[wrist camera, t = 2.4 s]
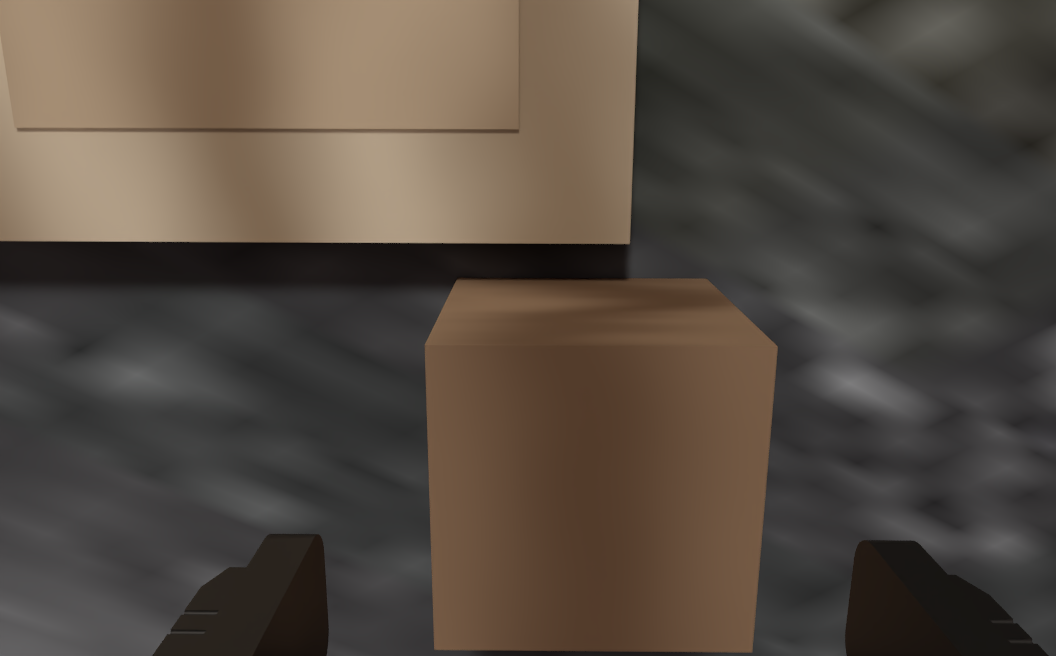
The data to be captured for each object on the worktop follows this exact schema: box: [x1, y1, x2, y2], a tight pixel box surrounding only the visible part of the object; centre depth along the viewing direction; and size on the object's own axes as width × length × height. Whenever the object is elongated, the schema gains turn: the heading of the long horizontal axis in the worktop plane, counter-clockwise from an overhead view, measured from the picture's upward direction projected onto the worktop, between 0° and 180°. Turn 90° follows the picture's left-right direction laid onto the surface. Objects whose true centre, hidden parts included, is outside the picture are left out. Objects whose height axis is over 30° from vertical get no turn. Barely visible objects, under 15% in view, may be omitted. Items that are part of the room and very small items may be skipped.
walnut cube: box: [425, 278, 778, 652], centre depth 17 cm, size 6×6×6 cm
